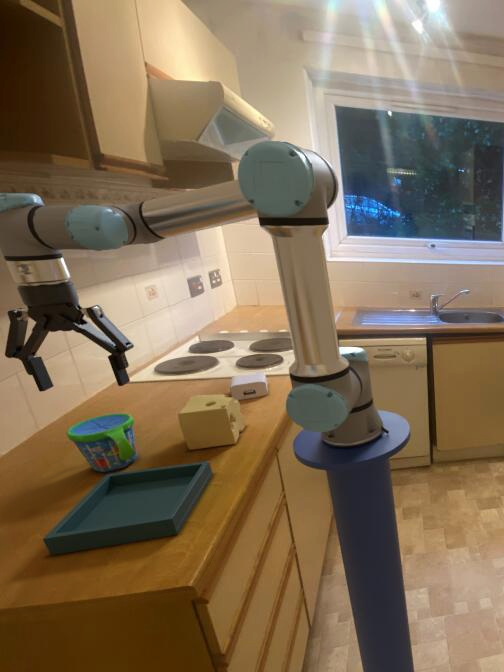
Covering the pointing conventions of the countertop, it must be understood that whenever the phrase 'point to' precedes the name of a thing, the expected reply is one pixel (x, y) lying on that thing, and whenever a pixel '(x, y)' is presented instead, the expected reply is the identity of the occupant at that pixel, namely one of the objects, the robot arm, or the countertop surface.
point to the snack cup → (106, 441)
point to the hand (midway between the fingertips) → (86, 386)
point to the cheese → (211, 421)
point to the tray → (131, 508)
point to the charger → (248, 386)
